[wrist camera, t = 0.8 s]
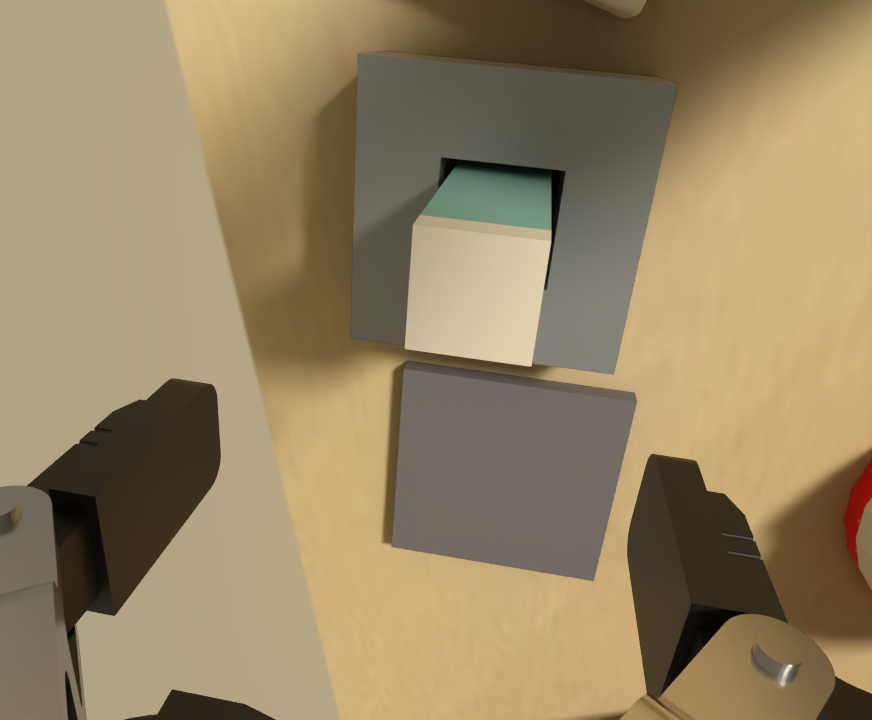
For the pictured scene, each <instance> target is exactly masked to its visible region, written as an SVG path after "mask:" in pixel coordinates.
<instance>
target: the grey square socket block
mask: <svg viewBox="0 0 872 720" xmlns="http://www.w3.org/2000/svg"><path fill="white" fill-rule="evenodd" d="M677 86H678V84H676V83H674V82H671V81H669V80H666V79H664V78H661V77H653V76H643V75H632V74H622V73H611V72H601V71H590V70H580V69H569V68H558V67H548V66H537V65H527V64H516V63H506V62H495V61H485V60H474V59H464V58H453V57H443V56H432V55H422V54H411V53H400V52H390V51H378V52H369V53H359V54H358V77H357V113H356V148H355V184H354V220H353V256H352V292H351V327H350V338H353V339H360V340H367V341H374V342H381V343H389V344H396V345H403V346H405V336H406V321H407V306H408V291H409V276H410V261H411V246H412V231H413V224H414V223H415V221H416V220H417V218H418V217H419V216H420V214H421V213H422V211H423V210H424V209H425V207H426V206H427V205H428V203H429V202H430V200H431V199H432V198H433V196H434V195H435V194H436V192H437V191H438V189H439V188H440V187H441V185H442V184H443V183H444V181H445V180H446V178H447V177H448V176H449V174H450V173H451V172H452V167H453V159H462V160H471V161H480V162H489V163H498V164H508V165H517V166H526V167H535V168H544V169H553V170H561V176H560V183H559V189H558V195H557V201H556V208H555V214H554V220H553V227H552V233H551V246H550V253H549V259H548V265H547V272H546V278H545V284H544V290H543V297H542V303H541V309H540V316H539V322H538V328H537V334H536V341H535V347H534V353H533V359H532V363H533V364H540V365H547V366H554V367H561V368H569V369H576V370H583V371H590V372H597V373H605V374H612V375H614V372H615V368H616V363H617V359H618V354H619V350H620V345H621V341H622V336H623V331H624V327H625V322H626V318H627V313H628V309H629V304H630V300H631V295H632V291H633V286H634V282H635V277H636V272H637V268H638V263H639V259H640V254H641V250H642V245H643V241H644V236H645V232H646V227H647V223H648V218H649V213H650V209H651V204H652V200H653V195H654V191H655V186H656V182H657V177H658V173H659V168H660V164H661V159H662V154H663V150H664V145H665V141H666V136H667V132H668V127H669V123H670V118H671V114H672V109H673V105H674V100H675V95H676V91H677Z"/></svg>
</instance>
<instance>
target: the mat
mask: <svg viewBox="0 0 872 720" xmlns="http://www.w3.org/2000/svg"><path fill="white" fill-rule="evenodd" d="M636 403H637V401H636V396H635V393H632V392H625V391H618V390H611V389H604V388H597V387H590V386H583V385H576V384H569V383H561V382H554V381H547V380H540V379H533V378H526V377H519V376H512V375H505V374H498V373H491V372H483V371H476V370H469V369H462V368H455V367H448V366H441V365H434V364H427V363H420V362H413V361H407V362H406V365H405V367H404V370H403V385H402V400H401V415H400V430H399V445H398V460H397V475H396V489H395V504H394V519H393V534H392V547H395V548H401V549H407V550H413V551H419V552H425V553H431V554H437V555H443V556H449V557H455V558H460V559H466V560H472V561H478V562H484V563H490V564H496V565H502V566H508V567H514V568H520V569H525V570H531V571H537V572H543V573H549V574H555V575H561V576H567V577H573V578H579V579H585V580H590V581H594V577H595V573H596V569H597V565H598V561H599V557H600V552H601V548H602V544H603V540H604V536H605V532H606V528H607V523H608V519H609V515H610V511H611V507H612V503H613V499H614V494H615V490H616V486H617V482H618V478H619V474H620V470H621V466H622V461H623V457H624V453H625V449H626V445H627V441H628V437H629V432H630V428H631V424H632V420H633V416H634V412H635V408H636Z"/></svg>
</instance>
